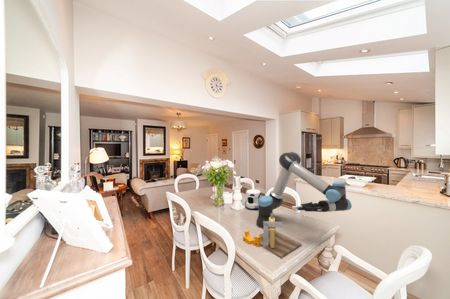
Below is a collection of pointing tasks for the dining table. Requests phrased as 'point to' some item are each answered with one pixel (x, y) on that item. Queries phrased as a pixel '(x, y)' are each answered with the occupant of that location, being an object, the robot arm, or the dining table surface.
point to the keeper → (265, 230)
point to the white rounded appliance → (252, 198)
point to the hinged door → (272, 231)
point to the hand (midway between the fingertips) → (292, 208)
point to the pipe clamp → (251, 239)
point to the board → (280, 244)
